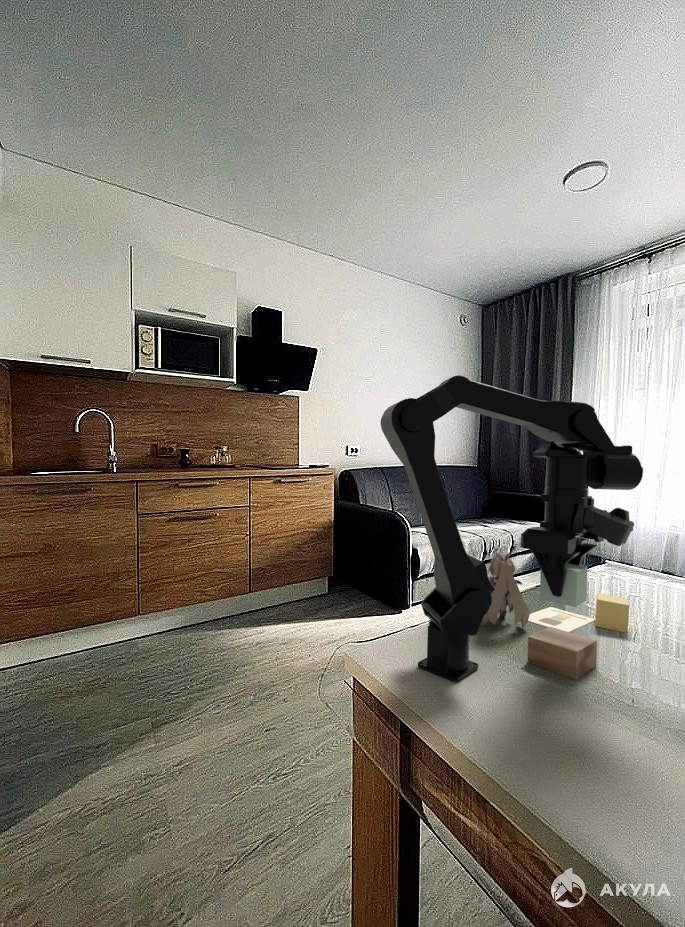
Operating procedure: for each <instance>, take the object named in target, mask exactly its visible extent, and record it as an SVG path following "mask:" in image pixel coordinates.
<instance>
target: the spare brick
mask: <svg viewBox="0 0 685 927" xmlns="http://www.w3.org/2000/svg"><path fill="white" fill-rule="evenodd" d="M595 600H596V601H595V613H594V619H595V621H594V625H595V626H594V627H597V628H602V629H607V630H612V631H617V632H621V633H628V629H629V617H630V603H629V599H628V598H627V597H622V596H616V595H612V594H605V593H600V592H596V599H595Z"/></svg>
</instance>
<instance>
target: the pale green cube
mask: <svg viewBox="0 0 685 927" xmlns="http://www.w3.org/2000/svg"><path fill="white" fill-rule="evenodd" d="M539 582H540V584H539V587H540V588H539V600H542V601H548V602H551V603H556V604H560V605H564V606H569V607H573V608H577V607H579V606H580V605H582V604H583V603H585V602H586V601H587V598H588V596H587V595H588V566H585V565H581V566H579V565H573V564H568V567H567V572H566V577H565V582H564V587H563V591H562V595H561V597H557V596H554V595H553V594H552V592H551V590H550V588H549V585H548V583H547V581H546V579H545V576H544V574H543V572H542V570H541V569H540V581H539Z"/></svg>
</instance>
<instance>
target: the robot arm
mask: <svg viewBox="0 0 685 927" xmlns="http://www.w3.org/2000/svg"><path fill="white" fill-rule="evenodd" d="M455 408H458V409H461V410H465V411H468V412H472V413H475V414H479V415H483V416H486V417H490V418H493V419H497V420H501V421H504V422H507V423H511V424H515V425H519V426H521V427H522V428H525V429H527V430H528V431H530V433H532V434H533V435H535V436H537V437H539V438H540V439H542V440H544V442H543V444H542V445H541V446H540V447H538V449H536V450H535V451H533V452H532V457H534V458H546V464H545V465H546V466H545V467H546V468H545V469H546V471H545V493H541V494H540V502H544V520H542V521H539V526H533V527H528V528H526V529H525V530H524V531H523V532H522V533H521V534H520V548H522V549H527V550H530V552H532V554H533V555H534V557H535V560H536V561H537V563H538V565H539V567H540V571H541V570H542V572H543V574H544V576H545V579H546V581H547V583H548V585H549V588H550V590H551V592H552V594H553V595H554V596H557V597H561V595H562V591H563V587H564V582H565V577H566V572H567V567H568V564H573V565H579V566H582V563H583V560H584V559H585V558H584V557H585V556H586V555H587V554H589V553H590V552H591V551H593V550H595V549H596V548H597V547H598V544H594V543H588V540H594V542H595V543H601V542H604V540H606V542H607V543H609V544H612V545H613V546H617V547H620V546H622V545H626V543H627V541H628V538H630V535H631V533H632V532H633V531H634V526H635V522H634V521H632V520H630V512H629V511H628V510H626V509H624V508H621V507H615V508H613V509H612V510H610V511H608V510H605V509H602V508H601V509H600V508H599V507H596V506H595V498H594V497H593V496H591V495H589V488H591V489H592V490H612V491H613V490H619V491H630V490H634V489H636V488H637V487H638V486H639V485H640V483H641V482H642V479H643V477H644V476H643V474H644V467H643V466H642V463H641V462H640V459H639V458H638V457H637V455H635V454H634V453H633V446H632V445H629V444H628V445H615V444H614V443H613V441H612V439H611V438H610V436H609V435H608V433H607V432H606V430H605V428H604V426H603V425H602V423H601V422H600V420H599V419H598V418H599V417H598V415H597V413H596V409H595V407H593V406H592V405H591V404H589V403H586V402H580V401H569V400H544V399H543V400H542V399H537V398H534V397H531V396H527V395H524V394H520V393H518V392H517V393H516V392H513V391H510V390H507V389H504V388H499V387H496V386H493V385H491V384H486V383H484V382H483V383H482V382H479V381H475V380H471V379H469V378H468V377H466V376H465V375H454V376H451V377H449V378H447V379H445V380H442V382H441V383H439V385H438V386H436V387H434V388H433V389H430V390H429V391H428V392H426V393H423V395H420V396H419V397H417V398H414V397H413V398H412V397H409V398H405V399H402V400H400V401H398V402H396V403H393V404H392V405H390V406H388V407H387V408H386V409H385V410H384V412H383V413H382V416H381V418H380V427H381V428H380V429H381V431H382V434H383V435H384V437H385V439H386V440H387V442H388V445H389V447H390V449H391V450H392V451H393V453H394V454H395V455H396V457H397V458H398V459H399V461H400V462H401V464H402V465H403V467H404V469H405V472H406V475H407V477H408V481H409V484H410V488H411V491H412V493H413V496H414V499H415V502H416V505H417V507H418V510H419V514H420V516H421V520H422V522H423V526H424V528H425V531H426V535H427V538H428V541H429V543H430V546H431V550H432V552H433V556H434V564H433V578H434V583H435V588H433V590H431V591H430V593H428V594H427V595H426V596H425V597H424V599H423V600H421V601H420V605H421V608H422V611H423V613H424V614H423V615H424V616H425V617H427V618H428V619H429V621H428V626H427V645H426V646H427V647H426V657H424V658H423V659H421V660H419V661H418V662H417V667H419V668H421V669H423V670H426V671H428V672H431V673H433V674H436V675H439V676H441V677H443V678H445V679H449V680H451V681H454V682H460V681H461V680H462V679H464V678H465V677H466V676H468V675H470V674H471V673H472V672H474V671H476V670H477V669H479V663H477V662H474V661H473V660H469V658H470V636H476V635H478V633H479V629H480V628H481V626H482V624H481V622H482V619H483V617H484V615H485V614H486V613H487V612H488V610H489V608H490V606H491V605H492V595H491V592H490V590H491V591H494V590H495V589H494V587H493V586H492V585H491V582H490V581H489V579H488V577H489V574H488V569H487V566H486V563H485V562H484V561H482V560H479V558H475V557H473V556H472V555H469V554H468V553H467V551H466V548H465V546H464V543H463V540H462V536H461V534H460V531H459V528H458V526H457V523H456V519H455V516H454V513H453V511H452V507H451V505H450V501H449V498H448V495H447V491H446V488H445V485H444V483H443V479H442V477H441V474H440V472H439V468H438V464H437V462H436V457H435V454H436V453H435V452H436V451H435V450H436V432H435V426H434V423H435V421H437V420H439V419H440V418H442V417H444V416H445V415H447V414H448V413H450V411H452V410H454V409H455ZM557 444H558V445H557Z"/></svg>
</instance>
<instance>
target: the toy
mask: <svg viewBox="0 0 685 927" xmlns="http://www.w3.org/2000/svg"><path fill="white" fill-rule="evenodd" d="M510 557H511V552H508V553H507V554H505V553H502V552H500V553H497V552H496V553H495V554H494V555H493V557H492V559H491V560H490V564H489V567H488V569H487V574H488V575H489V574H491V575H492V576H488V579H489V581H490V584H491V585H492V586H493V587H494V589H495V590H494V591H491V590H490V592H491V595H492V605H491V606H490V608H489V610H488V612H487V613H486V614H485V615H484V617H483V619H482V622H481V626H482V627H483V626H485V625H486V623H487V622H488V621H489V622H491V623H492V624H493V625H496V622H497V619H498V618H499V619H506V615H507V613H509V614H511V613H512V611H513V612H514V626H516V625H517V624H518V623H519V622H521V628H522V629H524V627H525V626H526V625H527V623H528V619H529V616H530V614H531V613H530V610H529V608H528V606H527V603H526V601H525V599H524V597H523V596H522V593H521V590H520V589H519V587H518V585H520V586H522V585H523V583H522V581H520V580H518V579H515V576H514V573H515V572H516V566H515V565H514V563H513V561H512V560H511V558H510ZM507 607H508V612H507Z"/></svg>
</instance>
